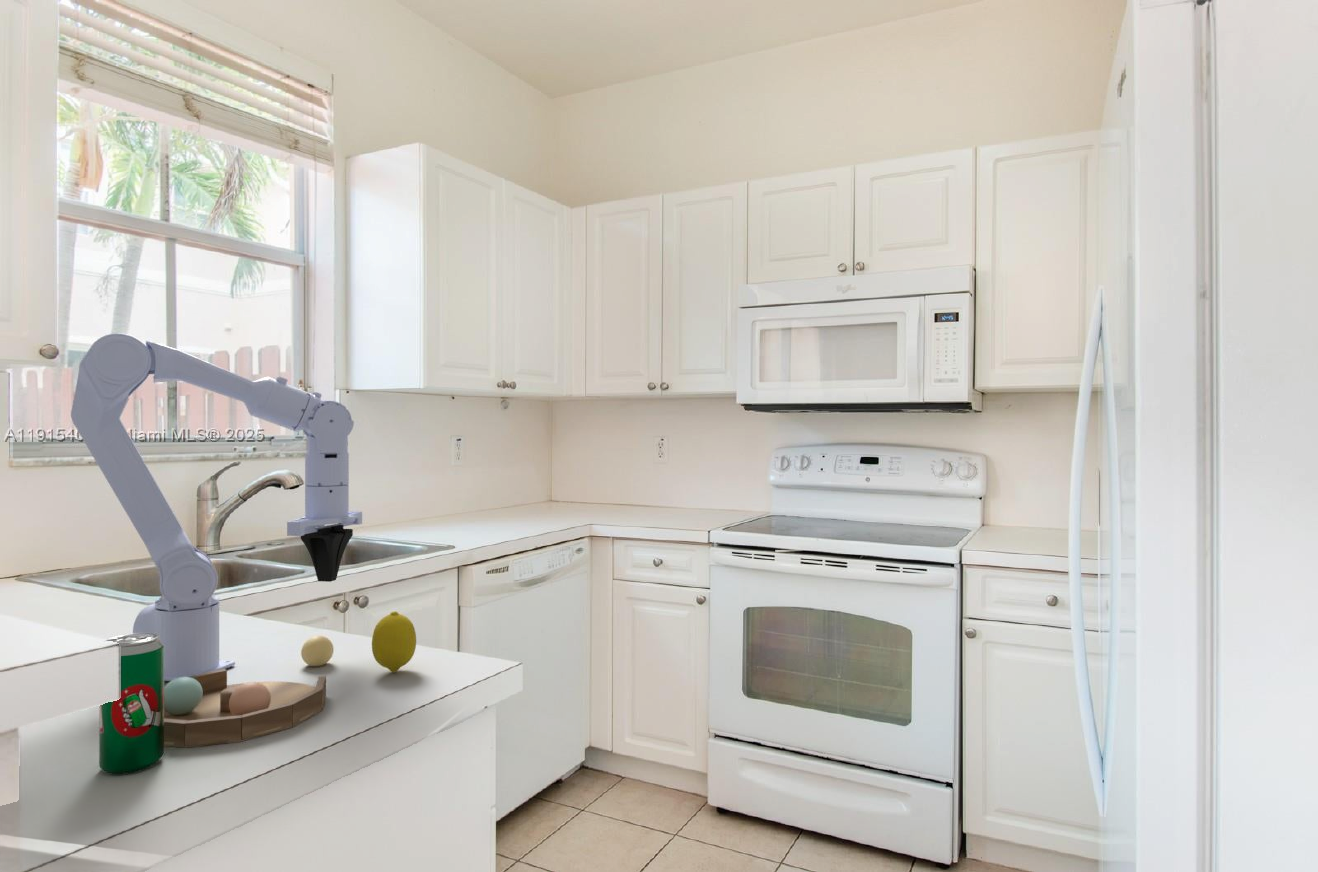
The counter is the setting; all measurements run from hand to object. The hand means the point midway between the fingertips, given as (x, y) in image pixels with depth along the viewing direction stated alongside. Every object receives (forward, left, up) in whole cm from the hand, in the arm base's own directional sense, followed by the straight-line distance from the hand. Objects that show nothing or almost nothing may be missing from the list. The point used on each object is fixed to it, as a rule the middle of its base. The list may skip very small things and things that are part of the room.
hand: (326, 580), depth 110 cm
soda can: (+5, -37, -11) cm, 39 cm away
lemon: (+14, -6, -11) cm, 19 cm away
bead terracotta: (+8, -26, -10) cm, 29 cm away
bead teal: (0, -26, -10) cm, 27 cm away
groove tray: (+4, -23, -10) cm, 26 cm away
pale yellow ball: (+4, -7, -9) cm, 12 cm away
